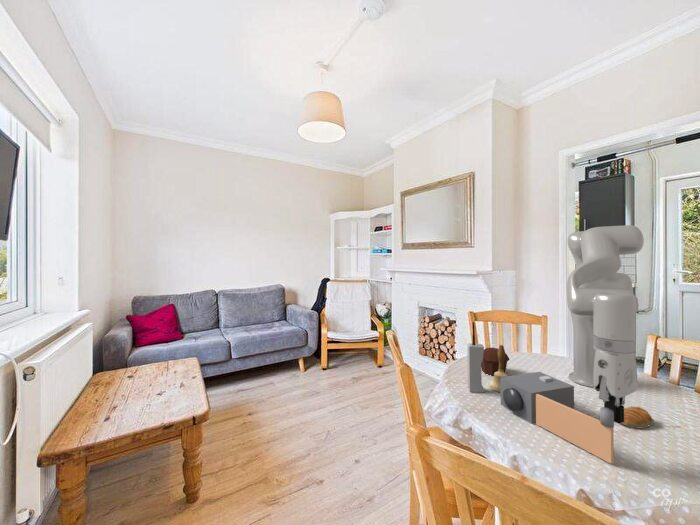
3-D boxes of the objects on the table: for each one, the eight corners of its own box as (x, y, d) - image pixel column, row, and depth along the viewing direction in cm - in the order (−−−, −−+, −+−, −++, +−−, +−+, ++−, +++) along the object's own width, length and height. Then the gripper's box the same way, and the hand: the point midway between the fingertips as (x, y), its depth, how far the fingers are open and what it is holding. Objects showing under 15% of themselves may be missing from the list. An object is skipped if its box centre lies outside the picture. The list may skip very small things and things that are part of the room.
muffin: (476, 374, 123) (476, 350, 122) (480, 365, 132) (480, 343, 132) (508, 380, 116) (508, 355, 116) (510, 370, 126) (510, 347, 126)
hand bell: (510, 384, 113) (509, 342, 112) (516, 394, 104) (516, 349, 104) (486, 382, 115) (486, 341, 114) (491, 392, 107) (490, 348, 106)
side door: (616, 462, 69) (616, 411, 69) (610, 465, 68) (610, 413, 68) (540, 422, 86) (539, 381, 86) (534, 424, 85) (534, 382, 85)
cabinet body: (539, 397, 102) (539, 369, 101) (574, 415, 90) (573, 383, 90) (496, 405, 97) (496, 375, 97) (527, 424, 86) (526, 391, 85)
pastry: (640, 433, 81) (639, 419, 81) (609, 421, 87) (609, 408, 87) (655, 424, 85) (655, 411, 85) (625, 413, 91) (625, 401, 91)
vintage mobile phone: (484, 393, 106) (483, 323, 105) (469, 392, 107) (468, 323, 106) (482, 388, 109) (481, 321, 109) (467, 387, 110) (466, 321, 110)
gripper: (616, 354, 64) (617, 437, 65) (649, 344, 71) (649, 420, 71) (578, 345, 71) (578, 420, 71) (611, 336, 77) (611, 405, 78)
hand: (614, 420), depth 71 cm, fingers closed
